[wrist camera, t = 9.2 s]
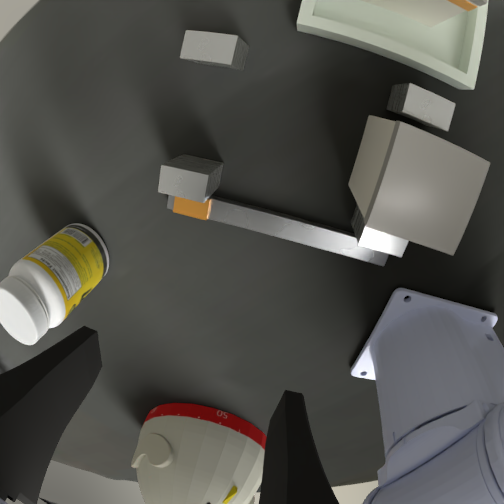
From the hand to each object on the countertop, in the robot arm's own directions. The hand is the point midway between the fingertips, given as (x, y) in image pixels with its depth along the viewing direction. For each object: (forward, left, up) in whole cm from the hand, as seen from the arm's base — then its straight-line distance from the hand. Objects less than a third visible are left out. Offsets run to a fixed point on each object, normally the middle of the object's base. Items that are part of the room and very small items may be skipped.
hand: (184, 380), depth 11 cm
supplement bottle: (+11, +3, -10) cm, 15 cm away
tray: (-5, -18, -10) cm, 21 cm away
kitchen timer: (-1, +23, -10) cm, 25 cm away
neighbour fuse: (-7, -8, -10) cm, 15 cm away
